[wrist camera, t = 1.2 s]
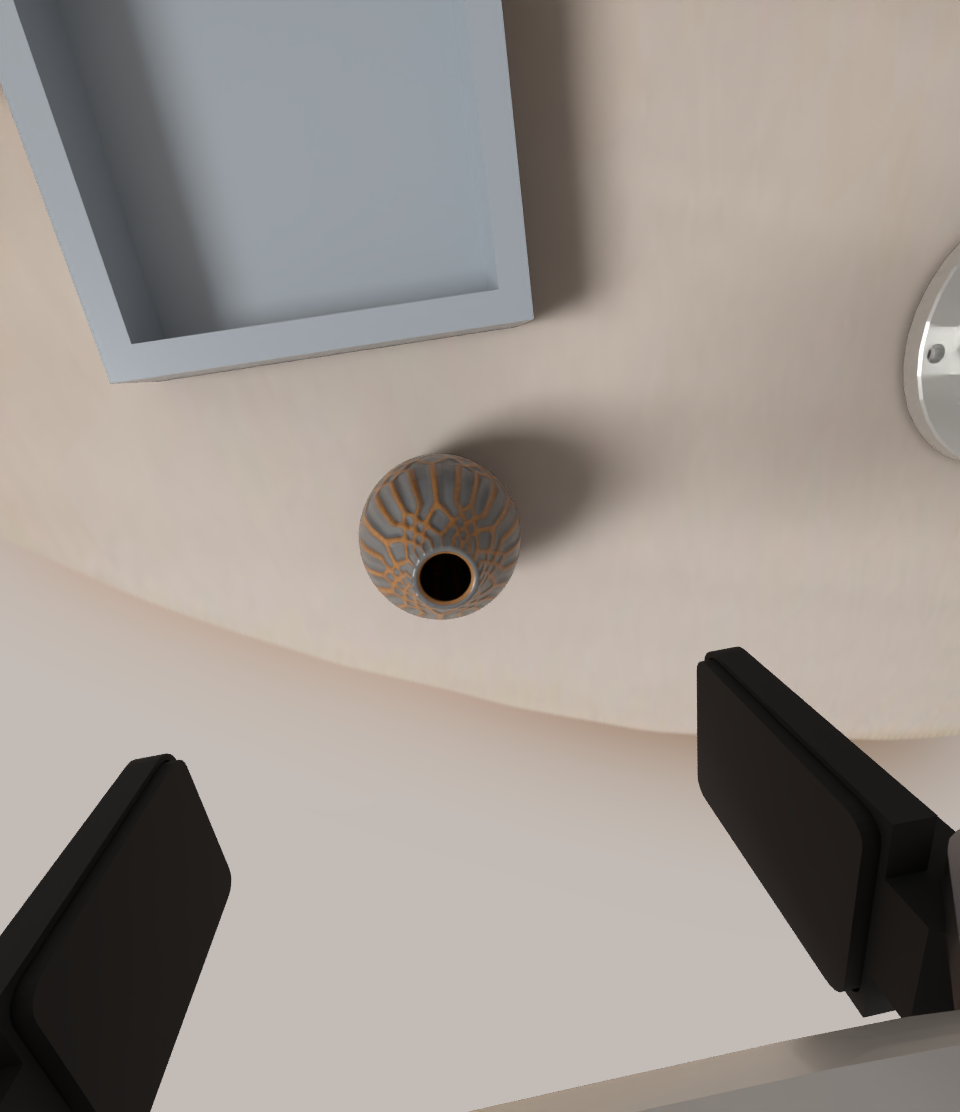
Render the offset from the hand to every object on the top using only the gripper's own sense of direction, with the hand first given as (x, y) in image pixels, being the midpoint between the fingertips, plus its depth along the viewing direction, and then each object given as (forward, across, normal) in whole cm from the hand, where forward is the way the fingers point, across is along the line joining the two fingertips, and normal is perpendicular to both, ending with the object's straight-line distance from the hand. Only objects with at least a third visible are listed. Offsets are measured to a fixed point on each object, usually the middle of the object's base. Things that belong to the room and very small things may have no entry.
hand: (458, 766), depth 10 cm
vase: (+18, 0, 0) cm, 18 cm away
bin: (+18, +3, -16) cm, 24 cm away
